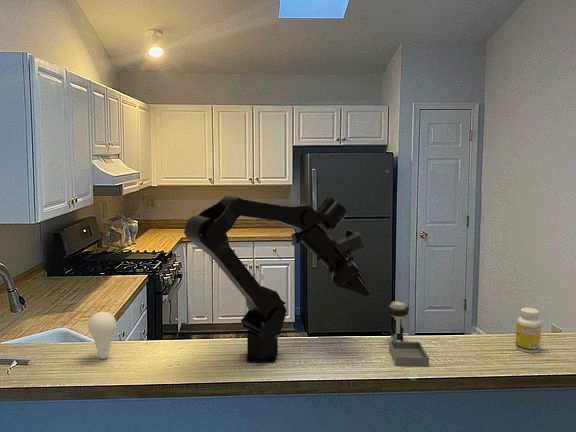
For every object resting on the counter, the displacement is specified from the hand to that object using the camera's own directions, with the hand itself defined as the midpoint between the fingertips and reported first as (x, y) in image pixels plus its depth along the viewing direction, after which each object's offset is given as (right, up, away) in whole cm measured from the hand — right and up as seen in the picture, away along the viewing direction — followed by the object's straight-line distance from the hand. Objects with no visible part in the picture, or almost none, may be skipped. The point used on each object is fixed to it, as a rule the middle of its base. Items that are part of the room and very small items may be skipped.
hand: (366, 289), depth 132 cm
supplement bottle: (+39, -15, -1) cm, 42 cm away
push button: (+8, -14, +2) cm, 16 cm away
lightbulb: (-61, -15, -8) cm, 64 cm away
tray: (+9, -15, -6) cm, 19 cm away
